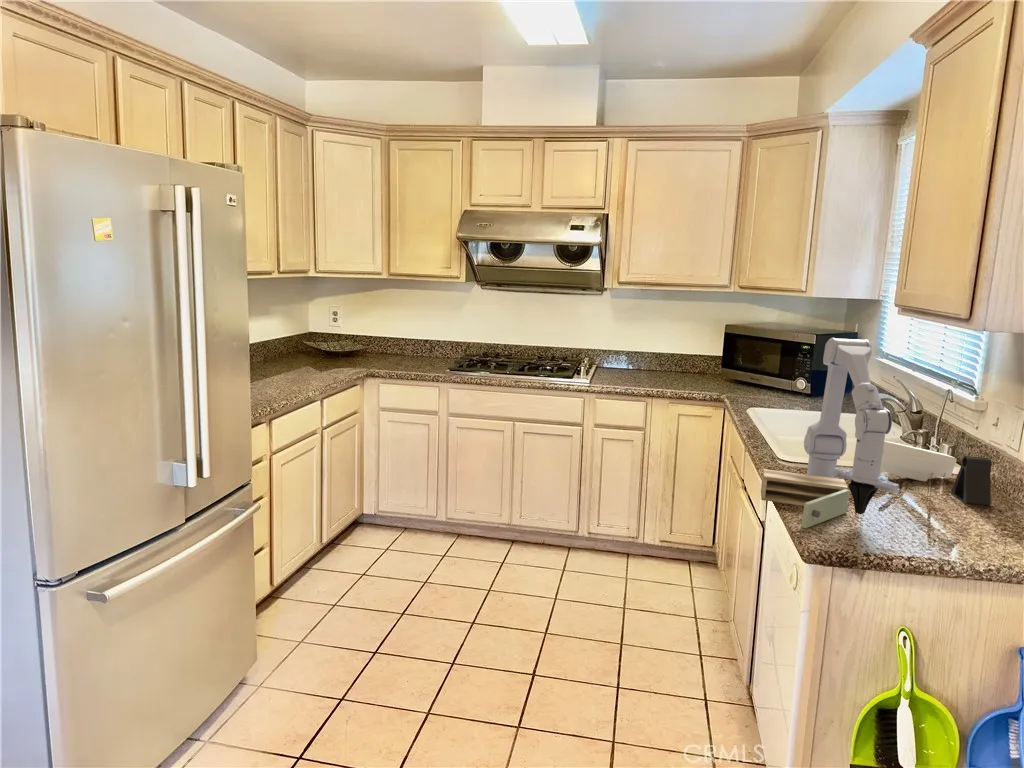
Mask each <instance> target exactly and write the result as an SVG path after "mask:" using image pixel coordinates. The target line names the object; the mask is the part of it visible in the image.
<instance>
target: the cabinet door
mask: <svg viewBox="0 0 1024 768" xmlns="http://www.w3.org/2000/svg"><path fill="white" fill-rule="evenodd" d="M850 495H851V491H850V489H848V490H847V489H844V490H842V491H839V492H836V493H833V494H830V495H827V496H824V497H821V498H818V499H815V500H812V501H809V502H806V503H804V506H803V513H802V521H801V528H803V529H807V528H810V527H812V526H816V525H819V524H821V523H823V522H826V521H828V520H832V519H833V518H836V517H839V516H841V515H844V514H847V513H848V510H849V499H850Z"/></svg>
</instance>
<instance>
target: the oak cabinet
mask: <svg viewBox="0 0 1024 768" xmlns="http://www.w3.org/2000/svg"><path fill="white" fill-rule="evenodd" d="M848 488H849V487H848V485H847V483H846V480H845V479H844V478H838V477H835V478H830V477H822V476H814V475H807V473H798V472H796V473H795V472H790V471H789V472H788V471H782V470H775V469H766V468H763V469H762V478H761V488H760V499H761V500H762V501H766V502H774V503H781V504H782V503H783V504H787V505H793V506H794V505H796V506H801V507H802V506H803V507H804V503H806V502H809V501H812V500H815V499H818V498H821V497H824V496H827V495H830V494H833V493H836V492H839V491H842V490H844V489H847V490H849V489H848Z"/></svg>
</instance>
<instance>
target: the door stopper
mask: <svg viewBox="0 0 1024 768" xmlns="http://www.w3.org/2000/svg"><path fill="white" fill-rule="evenodd" d="M991 469H992V459H991V458H990V457H981V456H980V457H979V456H966V455H964V456H963V457H962V459H961V465H960V468H959V471H958V473H957V476H956V477H955V480H954V483H953V485H952V487H951V491H950V493H951V494H952V495H953V496H955V497H956V498H958V500H960V501H961V502H963V503H964V504H967V505H980V506H988V507H990V506H991V505H992V503H991V500H992V499H991V491H992V489H991V488H992V487H991Z"/></svg>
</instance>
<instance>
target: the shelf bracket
mask: <svg viewBox="0 0 1024 768" xmlns="http://www.w3.org/2000/svg"><path fill="white" fill-rule="evenodd" d="M957 461H958V460H957V458H956V457H955V456H951V455H949V454H947V453H941V452H938V451H932V450H930V449H929V450H928V449H925V448H919V447H916V446H911V445H906V444H902V443H896V442H893V441H888V440H887V441H886V440H884V446H883V453H882V459H881V466H880V473H879V477H881V473H882V472H885V473H887V474H888V475H889V474H890V475H893V476H899V477H903V478H908V479H911V480H916V481H920V482H928V480H929V479H935V478H937V477H941V478H945V479H949V478H951V477H952V474H953V471H954V469H955V466H956V463H957Z"/></svg>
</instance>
